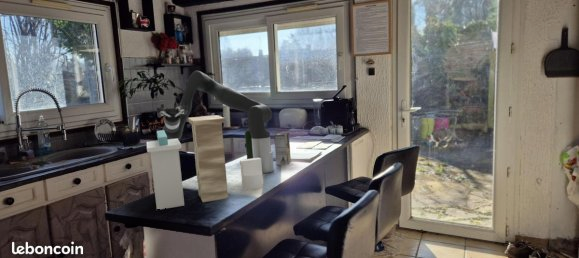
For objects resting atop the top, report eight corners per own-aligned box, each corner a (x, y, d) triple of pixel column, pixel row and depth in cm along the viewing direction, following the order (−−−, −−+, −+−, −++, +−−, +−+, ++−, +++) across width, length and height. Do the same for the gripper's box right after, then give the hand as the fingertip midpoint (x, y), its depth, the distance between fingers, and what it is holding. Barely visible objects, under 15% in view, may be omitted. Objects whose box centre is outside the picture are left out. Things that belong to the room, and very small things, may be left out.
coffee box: (279, 161, 219) (277, 132, 216) (291, 161, 217) (289, 132, 215) (275, 165, 210) (273, 135, 208) (287, 164, 208) (285, 134, 206)
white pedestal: (153, 199, 161) (146, 141, 158) (183, 194, 165) (177, 138, 162) (154, 212, 144) (146, 148, 141) (187, 207, 148) (181, 144, 145)
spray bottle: (268, 158, 228) (265, 115, 224) (253, 161, 222) (249, 117, 218) (258, 156, 236) (255, 115, 233) (243, 159, 230) (240, 117, 227)
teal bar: (157, 137, 168) (156, 130, 167) (164, 137, 169) (163, 130, 168) (159, 145, 145) (158, 137, 145) (168, 144, 146) (167, 136, 146)
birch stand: (195, 192, 166) (187, 117, 162) (223, 188, 170) (216, 115, 166) (201, 204, 150) (193, 121, 146) (232, 199, 154) (225, 118, 150)
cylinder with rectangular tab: (245, 190, 165) (243, 162, 163) (239, 185, 173) (237, 159, 172) (266, 187, 168) (263, 159, 167) (259, 182, 177) (257, 156, 175)
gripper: (156, 114, 196) (155, 98, 182) (185, 111, 201) (187, 96, 187) (158, 127, 193) (157, 112, 179) (187, 124, 198) (189, 110, 184)
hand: (172, 104), depth 183 cm, fingers open, 8 cm apart
